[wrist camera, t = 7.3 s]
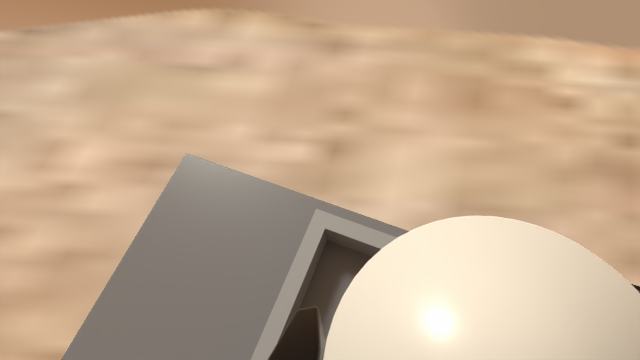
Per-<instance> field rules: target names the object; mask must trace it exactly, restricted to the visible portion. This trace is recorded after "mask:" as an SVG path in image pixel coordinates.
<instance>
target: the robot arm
mask: <svg viewBox="0 0 640 360" xmlns="http://www.w3.org/2000/svg"><path fill="white" fill-rule="evenodd" d="M631 285H632V286H633V287H634V288H635V289H636V290H638V291H639V293H640V287H639V286H636V285H633V284H631ZM325 346H326V340H325V335H324V330H323V325H322V320H321V315H320V311H319V308H318V307H316V306H313V307H308V308H303V309H299V310H297V311H296V312H295V314H294V316H293V317H292V319H291V321H290V323H289V324H288V326H287V328H286V329H285V331H284V333H283V334H282V336H281V338H280V339H279V341H278V343H277V345H276V346H275V348H274V350H273V351H272V353H271V355H270V356H269V358H268V360H323V358H324V352H325Z"/></svg>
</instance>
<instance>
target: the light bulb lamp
mask: <svg viewBox="0 0 640 360" xmlns="http://www.w3.org/2000/svg"><path fill="white" fill-rule="evenodd" d="M324 335H325V340H326V346H325V352H324V358H323V360H640V293H639V291H638V290H636V289H635V288H634V287H633V286H632V285H631V284H630V283H629V282H628V281H627V280H626V279H625V278H624V277H623V276H622V275H621V274H620V273H619V272H618V271H616V270H615V269H614V268H612V267H611V266H610V265H609V264H607V263H606V262H605V261H604V260H602V259H601V258H600V257H598V256H597V255H595V254H594V253H592V252H591V251H589V250H588V249H586V248H584V247H583V246H581V245H580V244H578V243H576V242H574V241H572V240H570V239H568V238H566V237H564V236H562V235H560V234H558V233H556V232H553V231H551V230H548V229H546V228H543V227H540V226H538V225H534V224H531V223H527V222H523V221H519V220H516V219H509V218H503V217H496V216H463V217H453V218H448V219H444V220H439V221H434V222H431V223H429V224H426V225H423V226H420V227H417V228H415V229H413V230H411V231H409V232H407V233H405V234H403V235H401V236H399V237H398V238H396V239H395V240H393V241H392V242H390V243H389V244H388V245H386V246H385V247H383V248H382V249H381V250H380V251H379V252H378V253H376V254H375V255H374V256H373V257H372V258H371V259H370V260H369V261H368V262H367V263H366V264H365V265H364V267H363V268H362V269H361V270H360V271H359V273H358V274H357V275H356V276H355V277H354V279H353V281H352V282H351V284H350V285H349V287H348V289H347V290H346V292H345V293H344V295H343V297H342V299H341V301H340V303H339V306H338V308H337V310H336V312H335V314H334V316H333V318H332V319H331V320H330V322H329V324H328V325H327V327H326V329H325V331H324Z"/></svg>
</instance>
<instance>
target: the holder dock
mask: <svg viewBox="0 0 640 360" xmlns="http://www.w3.org/2000/svg"><path fill="white" fill-rule="evenodd" d="M407 232H409V231H406V230H403V229H401V228H398V227H395V226H392V225H389V224H386V223H384V222H381V221H378V220H375V219H372V218H369V217H366V216H364V215H361V214H358V213H355V212H352V211H349V210H347V209H344V208H341V207H338V206H335V205H332V204H329V203H327V202H324V201H321V200H318V199H315V198H312V197H310V196H307V195H304V194H301V193H298V192H295V191H293V190H290V189H287V188H284V187H281V186H278V185H275V184H273V183H270V182H267V181H264V180H261V179H258V178H256V177H253V176H250V175H247V174H244V173H241V172H239V171H236V170H233V169H230V168H227V167H224V166H221V165H219V164H216V163H213V162H210V161H207V160H204V159H202V158H199V157H196V156H193V155H190V154H187V153H186V154H185V156H184V157H183V159H182V161H181V162H180V164H179V166H178V167H177V169H176V171H175V172H174V174H173V176H172V177H171V179H170V181H169V182H168V184H167V186H166V187H165V189H164V191H163V192H162V194H161V196H160V197H159V199H158V200H157V202H156V204H155V205H154V207H153V209H152V210H151V212H150V214H149V215H148V217H147V219H146V220H145V222H144V224H143V225H142V227H141V229H140V230H139V232H138V234H137V235H136V237H135V239H134V240H133V242H132V244H131V245H130V247H129V248H128V250H127V252H126V253H125V255H124V257H123V258H122V260H121V262H120V263H119V265H118V267H117V268H116V270H115V272H114V273H113V275H112V277H111V278H110V280H109V282H108V283H107V285H106V287H105V288H104V290H103V292H102V293H101V295H100V296H99V298H98V300H97V301H96V303H95V305H94V306H93V308H92V310H91V311H90V313H89V315H88V316H87V318H86V320H85V321H84V323H83V325H82V326H81V328H80V330H79V331H78V333H77V335H76V336H75V338H74V340H73V341H72V343H71V344H70V346H69V348H68V349H67V351H66V353H65V354H64V356H63V358H62V359H61V360H268V358H269V356H270V355H271V353H272V351H273V350H274V348H275V346H276V345H277V343H278V341H279V339H280V338H281V336H282V334H283V333H284V331H285V329H286V328H287V326H288V324H289V323H290V321H291V319H292V317H293V316H294V314H295V312H296V311H297V310H299V309H303V308H308V307H313V306H316V307H318V308H319V311H320V315H321V320H322V325H323V330H324V331H325V329H326V327H327V325H328V324H329V322H330V320H331V319H332V318H333V316H334V314H335V312H336V310H337V308H338V306H339V303H340V301H341V299H342V297H343V295H344V293H345V292H346V290H347V289H348V287H349V285H350V284H351V282H352V281H353V279H354V277H355V276H356V275H357V274H358V273H359V271H360V270H361V269H362V268H363V267H364V265H365V264H366V263H367V262H368V261H369V260H370V259H371V258H372V257H373V256H374V255H375V254H376V253H378V252H379V251H380V250H381V249H382V248H383V247H385V246H386V245H388V244H389V243H390V242H392V241H393V240H395V239H396V238H398V237H399V236H401V235H403V234H405V233H407Z"/></svg>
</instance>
